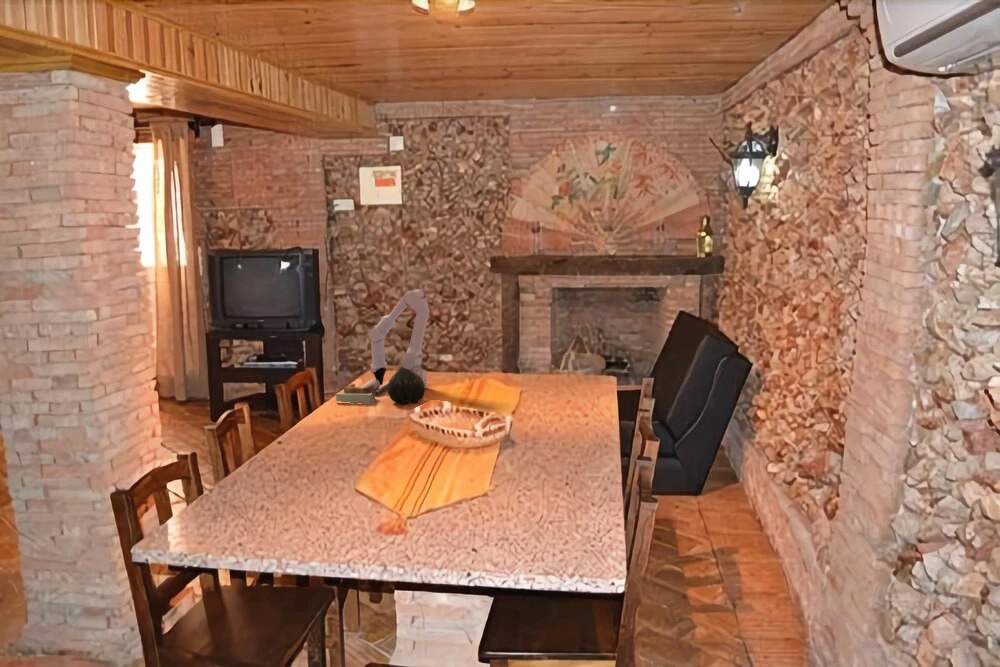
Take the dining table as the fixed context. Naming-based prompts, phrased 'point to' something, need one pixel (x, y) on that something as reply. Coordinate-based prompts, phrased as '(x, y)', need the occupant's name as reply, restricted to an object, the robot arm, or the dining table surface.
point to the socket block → (359, 389)
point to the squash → (406, 387)
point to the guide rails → (381, 390)
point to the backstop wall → (355, 397)
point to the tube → (373, 381)
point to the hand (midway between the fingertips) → (379, 384)
